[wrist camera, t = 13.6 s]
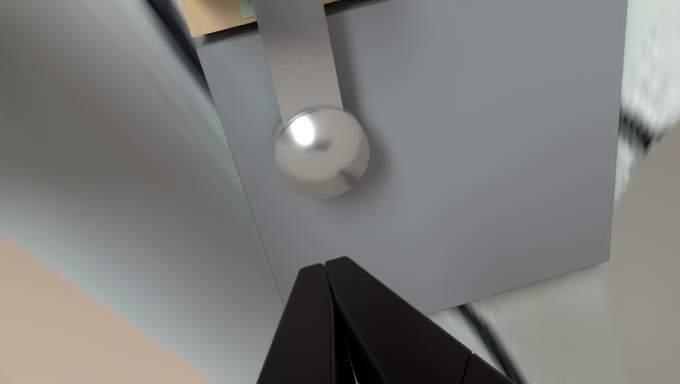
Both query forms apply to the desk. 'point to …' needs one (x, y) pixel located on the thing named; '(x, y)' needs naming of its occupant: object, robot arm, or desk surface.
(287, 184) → the door handle
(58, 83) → the desk surface
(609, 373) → the desk surface
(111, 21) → the desk surface
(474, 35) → the door board
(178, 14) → the desk surface
